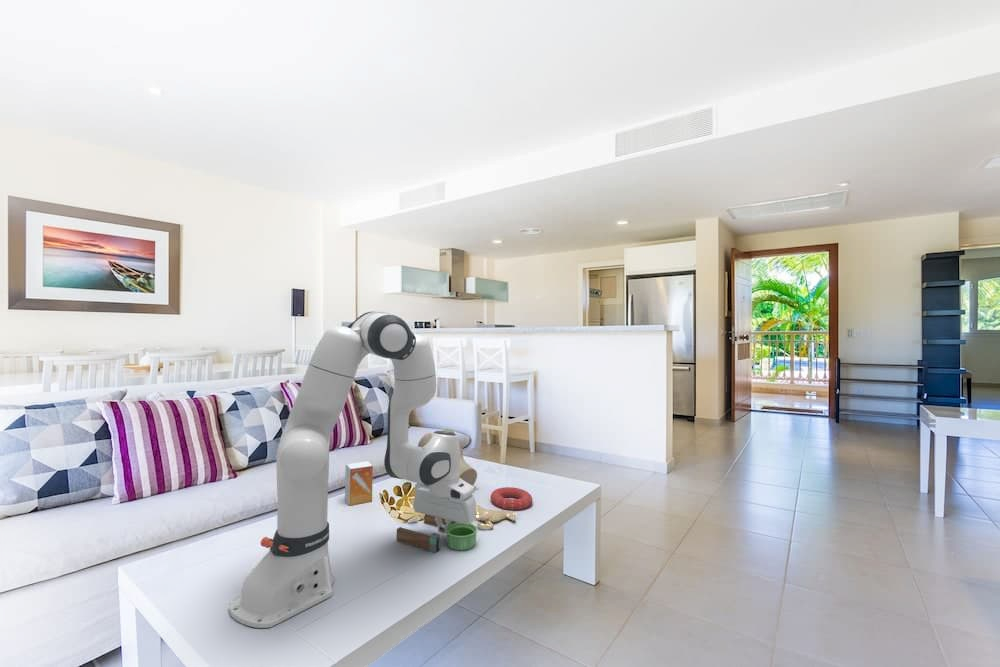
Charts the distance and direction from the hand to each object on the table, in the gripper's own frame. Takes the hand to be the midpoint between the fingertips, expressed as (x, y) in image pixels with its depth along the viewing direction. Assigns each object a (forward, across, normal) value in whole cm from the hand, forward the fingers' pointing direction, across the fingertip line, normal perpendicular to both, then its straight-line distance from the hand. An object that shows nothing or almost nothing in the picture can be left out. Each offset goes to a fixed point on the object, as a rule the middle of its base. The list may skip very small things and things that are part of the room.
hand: (443, 531), depth 133 cm
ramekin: (+2, +6, 0) cm, 7 cm away
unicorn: (+3, +4, +19) cm, 19 cm away
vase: (+2, -24, +39) cm, 46 cm away
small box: (+2, -42, +9) cm, 43 cm away
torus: (+3, +6, +35) cm, 35 cm away
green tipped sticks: (+2, -4, 0) cm, 5 cm away
